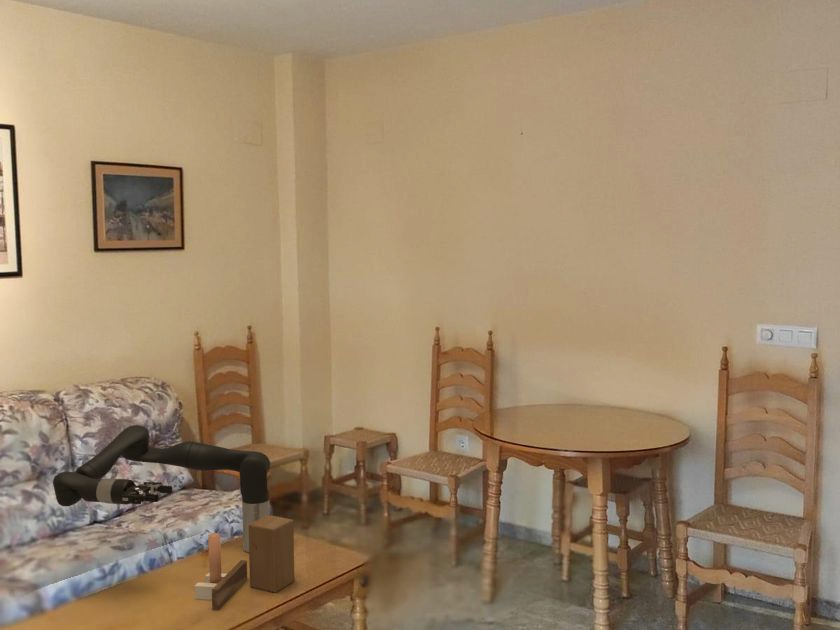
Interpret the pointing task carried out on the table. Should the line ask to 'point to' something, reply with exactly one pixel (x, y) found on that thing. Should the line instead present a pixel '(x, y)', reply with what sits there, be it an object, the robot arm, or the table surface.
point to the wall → (229, 585)
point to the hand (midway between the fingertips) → (165, 493)
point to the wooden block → (271, 553)
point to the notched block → (205, 588)
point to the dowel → (214, 557)
